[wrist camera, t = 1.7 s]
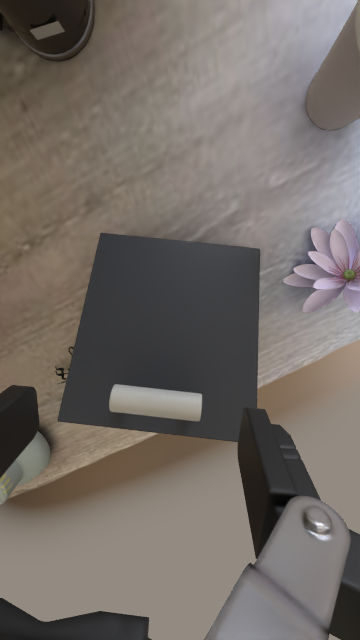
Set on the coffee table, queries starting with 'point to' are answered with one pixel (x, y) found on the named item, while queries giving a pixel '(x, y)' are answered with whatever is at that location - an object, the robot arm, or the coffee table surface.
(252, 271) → the lid
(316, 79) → the coffee cup
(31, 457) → the air freshener
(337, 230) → the water lily
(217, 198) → the coffee table surface
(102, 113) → the coffee table surface
